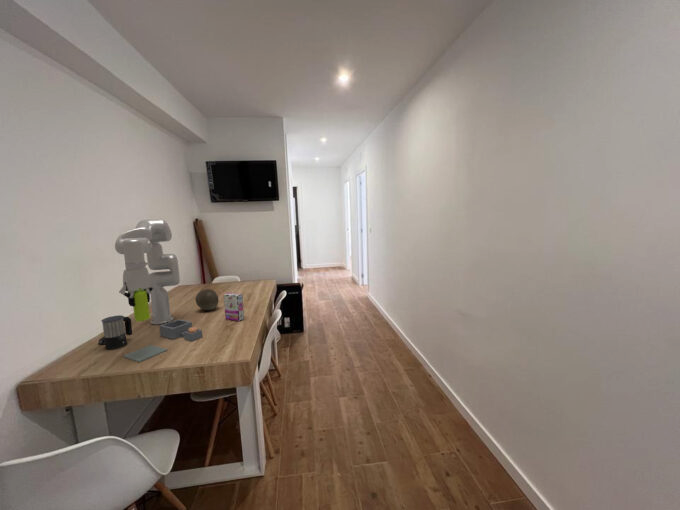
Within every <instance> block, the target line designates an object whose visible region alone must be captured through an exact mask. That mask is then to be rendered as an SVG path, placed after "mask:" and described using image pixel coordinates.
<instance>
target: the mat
mask: <svg viewBox="0 0 680 510" xmlns="http://www.w3.org/2000/svg"><path fill="white" fill-rule="evenodd" d="M165 352H168V349H167V348H163V347H159V346H156V345H153V344H151V345H148V346H145V347H141V348H139V349H137V350H134V351H131V352H129V353H127V354H124V355H122V356H123V358H125V359H128V360H131V361H133V360H134V362H136V361H137V363H139V362H140V363H142V362H144V361H146V359H147V360H149V359H151V358H153V357H156V356H157V355H160V353H161V354H162V353H165ZM141 361H142V362H141Z"/></svg>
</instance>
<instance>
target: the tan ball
mask: <svg viewBox="0 0 680 510" xmlns="http://www.w3.org/2000/svg"><path fill="white" fill-rule="evenodd" d="M197 329H198V327H197V326H192V327H191V328H189V329H188V330H189V333H194V332H196V331H197Z"/></svg>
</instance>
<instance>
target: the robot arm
mask: <svg viewBox="0 0 680 510" xmlns="http://www.w3.org/2000/svg"><path fill="white" fill-rule="evenodd" d="M172 237H173V235H172V231H171V228H170V226H169V224H168V223H167V221H165V220H163V219H161V218H160V219H159V218H158V219H156V218H155V219H142V220H140V221H139V222H138V223H137V224H136V227H134V229H130V230H128V231H126V232H125V231H124V232H123V233H120V234H119V236H118V237H117V238H116V240H115V244H114V249H115V251H116V252H117V253H118V254H119V255H123V257H124V264H125V269H124V270H123V274H122V287H121V288H120V290H119V294H121V295H122V296H124V297H126V298H127V301H128V305H129V307H133V306H135V300H134V298H133V294H134V291H137V290H139V288H140V287H141V288H142V289H143V290H144V291H146V292H147V299H148V303H150V302H151V311H152V314H151V315H150V318H151V317H152V319H150V324H151V325H163V323H164V324H166V323H167V322H168V323H169V322H172V321H174V319H175V318H174V316H172V315H171V308H170V307H171V306H170V297H169V292H168V290H166V289H165V288H164V287H174V286H178V285H179V284H180V282H181V280H180V279H181V278H180V270H179V260H178V257H177V256H176V254H173V253H163V252H164V251H163V250H164V249H163V246H162V244H161V243H163V242H164V243H165V242H169V241H171V240H172ZM145 254H146V259H145ZM146 260H147V261H146ZM147 265H148V266H147ZM149 270H151V271H153V272H151V273H149ZM162 270H163V271H162ZM164 270H165V271H164ZM166 270H167V271H166Z"/></svg>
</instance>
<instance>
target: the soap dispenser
mask: <svg viewBox="0 0 680 510" xmlns="http://www.w3.org/2000/svg"><path fill="white" fill-rule="evenodd" d="M133 298H134V300H135V306H132V307H133V308H132V309H133V314H134V321H135V322H144V321H146V320H149V319H151V315H150V306H149V302H148V299H147V292H146V291H144V290H143V289H142V288H141V287H140V288H139V290H137V291H134V294H133Z"/></svg>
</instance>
